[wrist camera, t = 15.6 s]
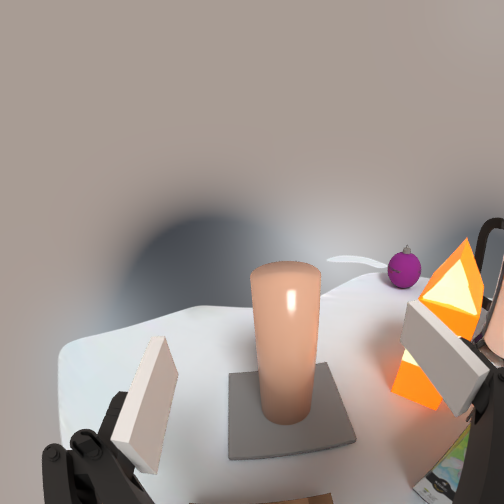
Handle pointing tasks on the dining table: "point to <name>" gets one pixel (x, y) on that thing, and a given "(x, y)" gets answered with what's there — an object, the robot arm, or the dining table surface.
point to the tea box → (445, 474)
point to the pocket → (307, 500)
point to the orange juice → (444, 318)
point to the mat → (285, 436)
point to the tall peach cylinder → (286, 337)
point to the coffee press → (500, 308)
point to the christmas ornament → (404, 269)
